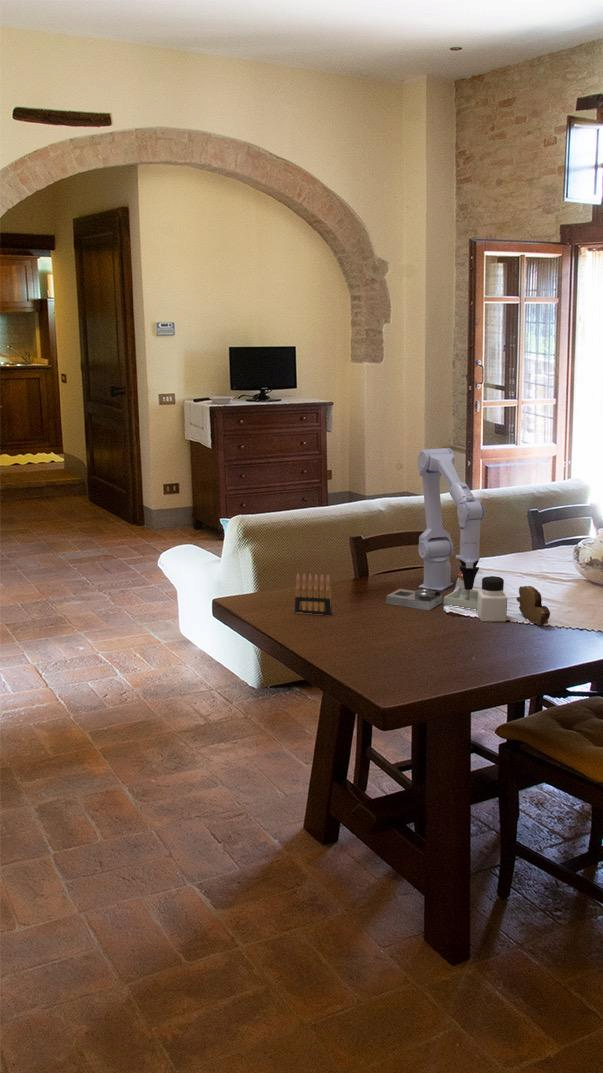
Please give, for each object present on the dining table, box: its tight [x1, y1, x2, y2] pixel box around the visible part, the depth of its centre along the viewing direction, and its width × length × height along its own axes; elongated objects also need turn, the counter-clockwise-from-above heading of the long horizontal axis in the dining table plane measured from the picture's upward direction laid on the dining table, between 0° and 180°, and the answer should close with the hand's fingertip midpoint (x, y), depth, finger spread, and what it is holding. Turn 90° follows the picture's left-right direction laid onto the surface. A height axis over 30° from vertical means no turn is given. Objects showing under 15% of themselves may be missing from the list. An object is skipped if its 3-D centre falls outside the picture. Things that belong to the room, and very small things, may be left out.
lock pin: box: [457, 571, 471, 601], centre depth 294 cm, size 4×4×9 cm
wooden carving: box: [516, 585, 551, 626], centre depth 276 cm, size 16×5×10 cm, turn 18°
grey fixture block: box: [385, 588, 443, 611], centre depth 295 cm, size 9×14×5 cm, turn 58°
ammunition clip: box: [294, 572, 333, 616], centre depth 285 cm, size 11×2×12 cm, turn 77°
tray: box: [443, 589, 478, 611], centre depth 295 cm, size 11×11×2 cm
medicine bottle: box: [476, 575, 508, 623], centre depth 279 cm, size 7×7×12 cm
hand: (468, 586), depth 294 cm, fingers open, 7 cm apart
